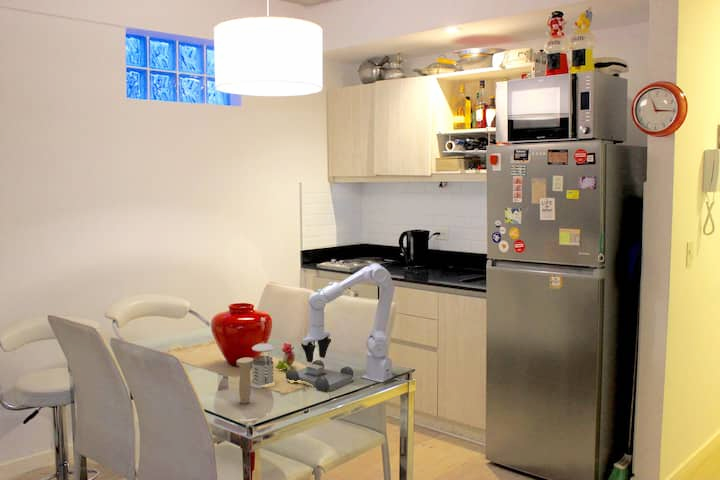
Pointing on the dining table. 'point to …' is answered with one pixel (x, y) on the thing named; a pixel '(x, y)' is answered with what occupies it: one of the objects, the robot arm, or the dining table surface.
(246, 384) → the handle
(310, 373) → the beige block
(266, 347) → the french press
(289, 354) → the bird rattle
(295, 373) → the chassis
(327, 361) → the dining table surface
